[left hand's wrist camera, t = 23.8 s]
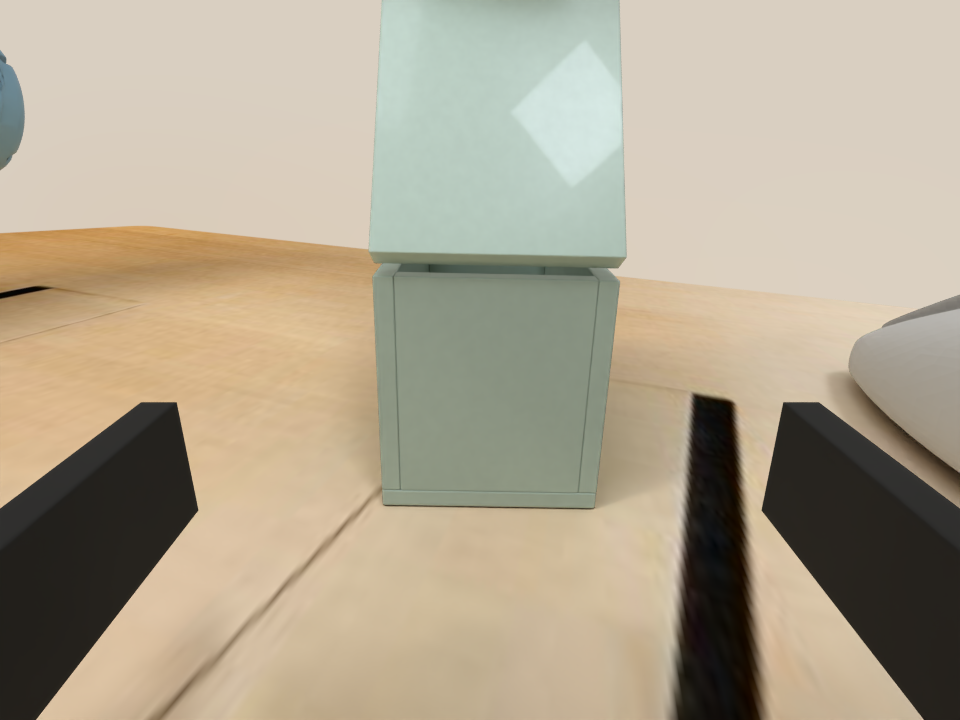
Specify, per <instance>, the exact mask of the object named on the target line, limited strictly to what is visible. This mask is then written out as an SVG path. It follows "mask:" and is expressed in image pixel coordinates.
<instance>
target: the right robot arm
mask: <svg viewBox="0 0 960 720" xmlns="http://www.w3.org/2000/svg"><path fill="white" fill-rule="evenodd" d="M24 118H25V116H24V101H23V96H22V91H21V87H20V84H19V81H18V78H17V76H16V74H15V72H14V70H13V68H12V67H11V66H10V65H8V64H6V57H5V56H4V54H3V53H2V52H1V51H0V170H1V169H3V168H4V167H5V166H6V165H7V164H8V163H9V162H10V160H11V158H12V155H13V154H15V153H16V152H17V150H18V148H19V145H20V142H21V139H22V136H23V130H24Z"/></svg>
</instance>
